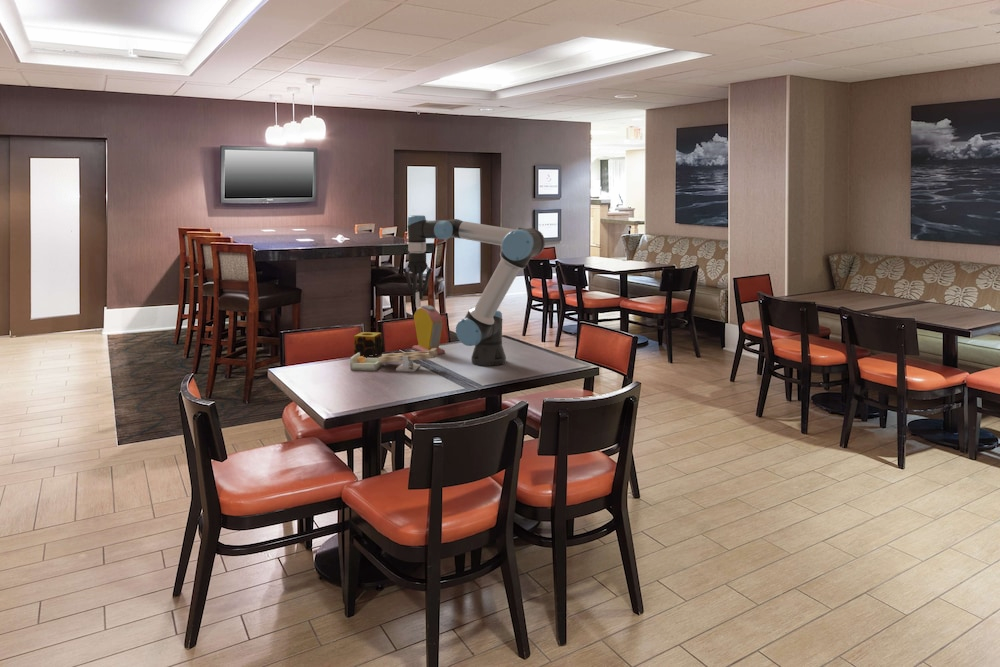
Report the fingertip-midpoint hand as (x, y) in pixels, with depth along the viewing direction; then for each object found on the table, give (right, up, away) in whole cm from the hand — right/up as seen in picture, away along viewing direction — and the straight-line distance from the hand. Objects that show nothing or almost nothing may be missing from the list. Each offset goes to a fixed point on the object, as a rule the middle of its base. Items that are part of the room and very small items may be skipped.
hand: (418, 306), depth 322 cm
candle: (-24, -22, +18) cm, 37 cm away
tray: (-21, -26, -4) cm, 34 cm away
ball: (-24, -23, -5) cm, 33 cm away
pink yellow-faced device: (+2, -20, +26) cm, 33 cm away
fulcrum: (-4, -26, -7) cm, 27 cm away
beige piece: (-3, -22, -4) cm, 23 cm away
